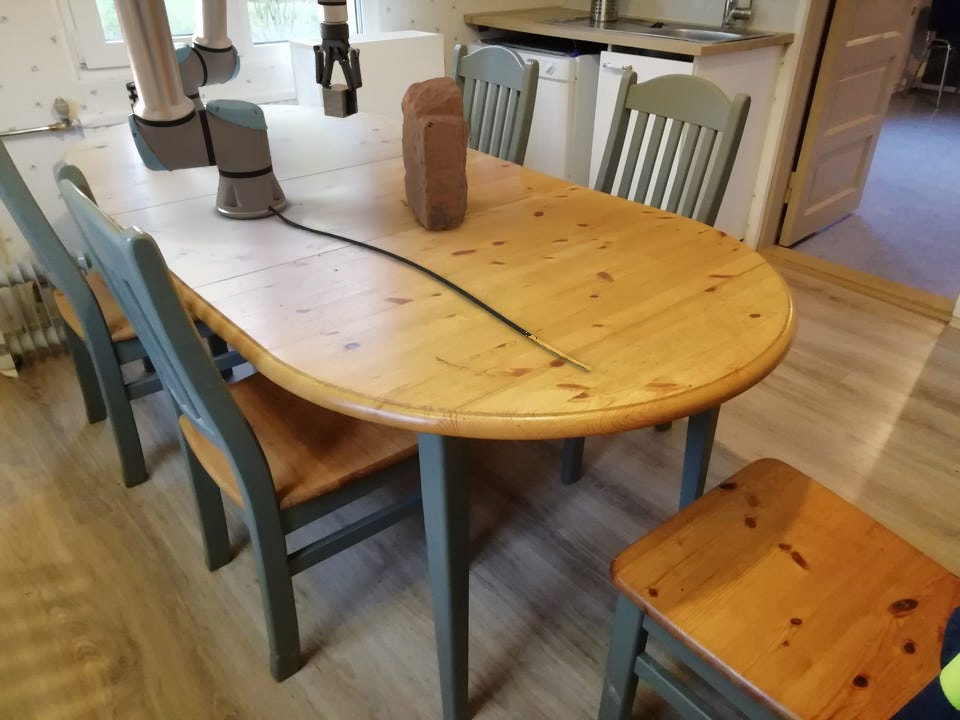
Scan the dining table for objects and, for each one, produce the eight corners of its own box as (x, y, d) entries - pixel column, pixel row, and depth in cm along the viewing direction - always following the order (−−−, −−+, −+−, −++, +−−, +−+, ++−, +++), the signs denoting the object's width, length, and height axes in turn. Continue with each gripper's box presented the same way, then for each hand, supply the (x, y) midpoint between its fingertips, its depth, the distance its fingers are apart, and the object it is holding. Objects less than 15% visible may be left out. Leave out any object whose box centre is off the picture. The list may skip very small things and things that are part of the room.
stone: (478, 228, 148) (477, 89, 134) (427, 234, 145) (421, 93, 131) (450, 199, 166) (446, 74, 151) (404, 203, 163) (396, 76, 148)
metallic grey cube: (358, 112, 197) (356, 85, 193) (343, 118, 191) (341, 90, 187) (339, 109, 199) (337, 83, 195) (324, 115, 193) (321, 88, 189)
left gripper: (372, 23, 182) (377, 113, 194) (312, 17, 188) (321, 105, 201) (356, 27, 176) (363, 119, 189) (295, 21, 183) (305, 110, 195)
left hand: (341, 112), depth 195 cm, fingers closed on metallic grey cube, 6 cm apart
